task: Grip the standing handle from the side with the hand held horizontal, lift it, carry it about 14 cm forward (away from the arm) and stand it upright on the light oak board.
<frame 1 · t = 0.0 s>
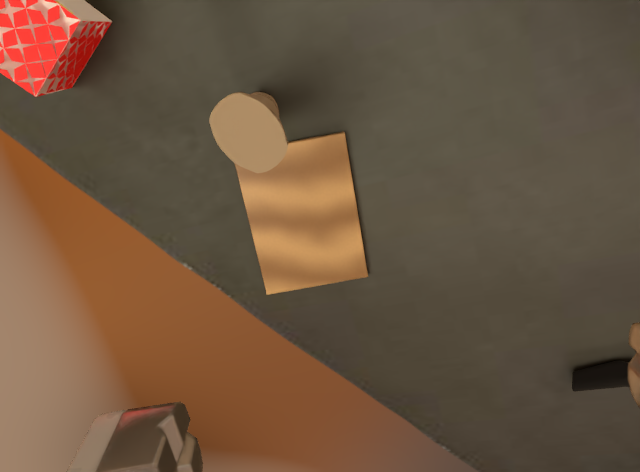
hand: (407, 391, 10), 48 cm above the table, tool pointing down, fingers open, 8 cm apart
red and white cube: (55, 28, 51), on the table
handle: (261, 107, 55), on the table
oak board: (303, 216, 59), on the table
electric trimmer: (624, 367, 69), on the table
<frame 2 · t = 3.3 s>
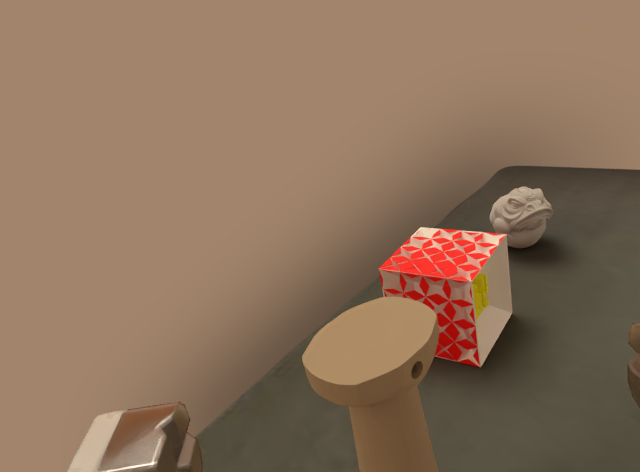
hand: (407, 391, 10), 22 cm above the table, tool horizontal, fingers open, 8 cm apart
red and white cube: (453, 331, 47), on the table
frog figurine: (522, 248, 58), on the table
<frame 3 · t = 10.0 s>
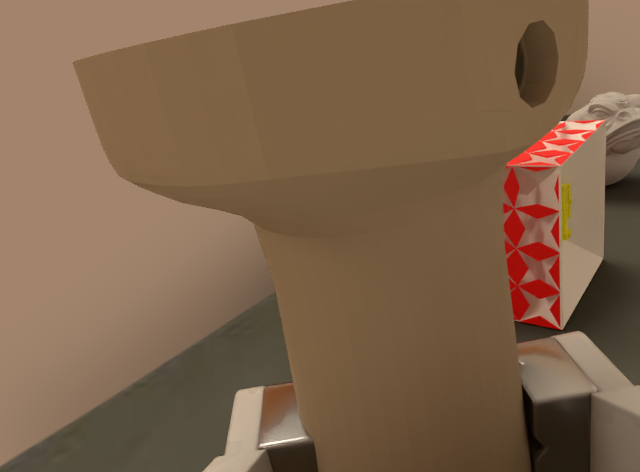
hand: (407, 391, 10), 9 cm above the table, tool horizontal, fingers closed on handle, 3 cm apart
red and white cube: (509, 282, 30), on the table
frog figurine: (601, 187, 40), on the table
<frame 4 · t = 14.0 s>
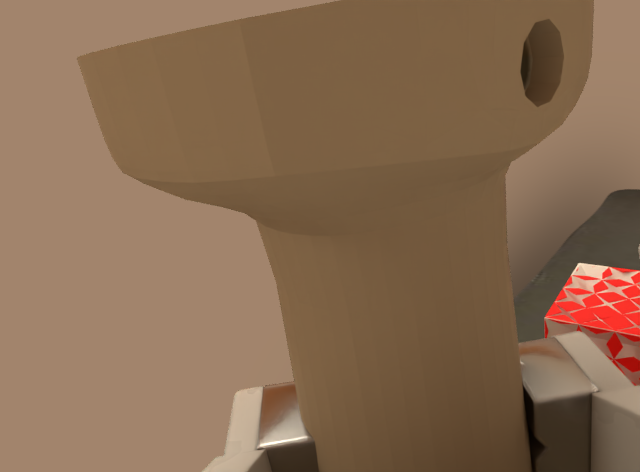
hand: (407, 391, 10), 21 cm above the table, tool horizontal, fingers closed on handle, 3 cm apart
red and white cube: (624, 399, 36), on the table
when the fingers open (9 cm above the table, at t = 18.3 s): handle stays where it is, resting on oak board.
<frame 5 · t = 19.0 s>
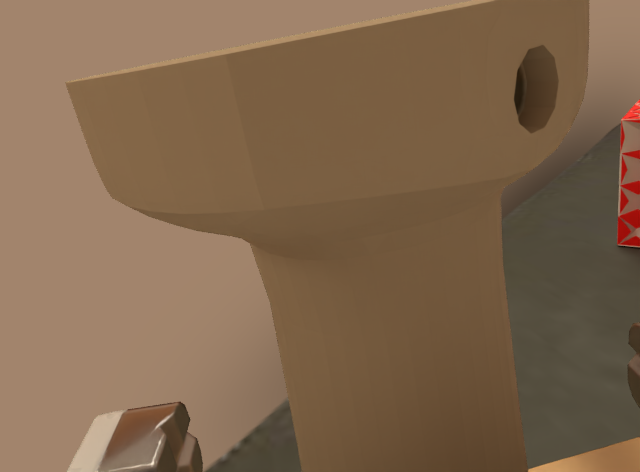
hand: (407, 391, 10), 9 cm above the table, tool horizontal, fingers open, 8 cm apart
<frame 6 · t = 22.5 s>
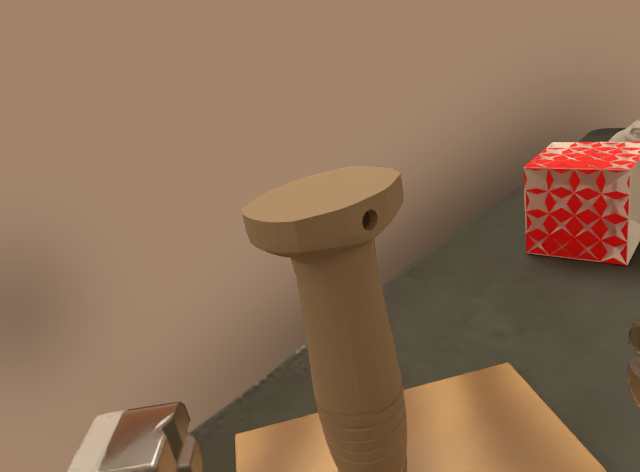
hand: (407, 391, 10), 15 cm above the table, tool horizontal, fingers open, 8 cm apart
red and white cube: (586, 242, 47), on the table
frog figurine: (637, 184, 58), on the table
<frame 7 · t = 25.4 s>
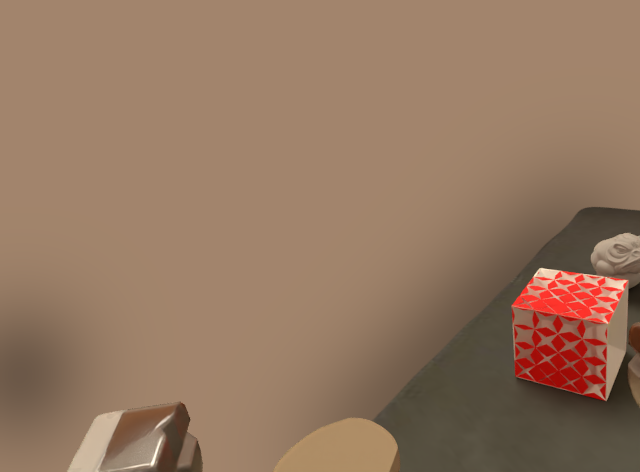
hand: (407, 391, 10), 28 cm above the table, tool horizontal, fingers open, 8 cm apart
red and white cube: (571, 365, 51), on the table
frog figurine: (620, 289, 62), on the table
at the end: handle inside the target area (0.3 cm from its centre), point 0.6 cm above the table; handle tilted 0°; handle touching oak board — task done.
